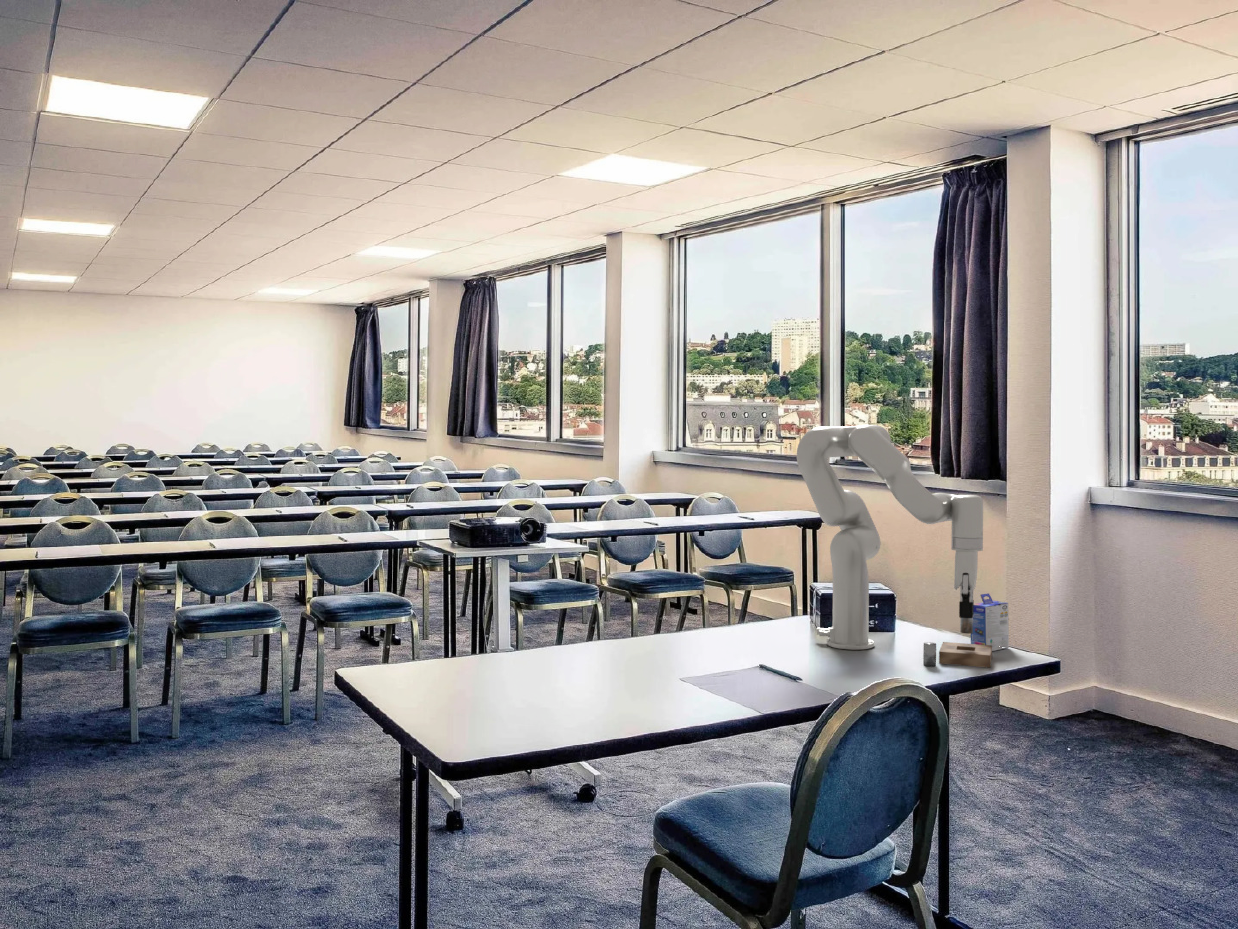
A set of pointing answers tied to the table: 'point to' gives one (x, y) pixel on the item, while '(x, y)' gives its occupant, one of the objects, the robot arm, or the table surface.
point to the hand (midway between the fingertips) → (966, 615)
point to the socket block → (965, 654)
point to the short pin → (929, 654)
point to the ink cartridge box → (990, 623)
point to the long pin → (966, 622)
